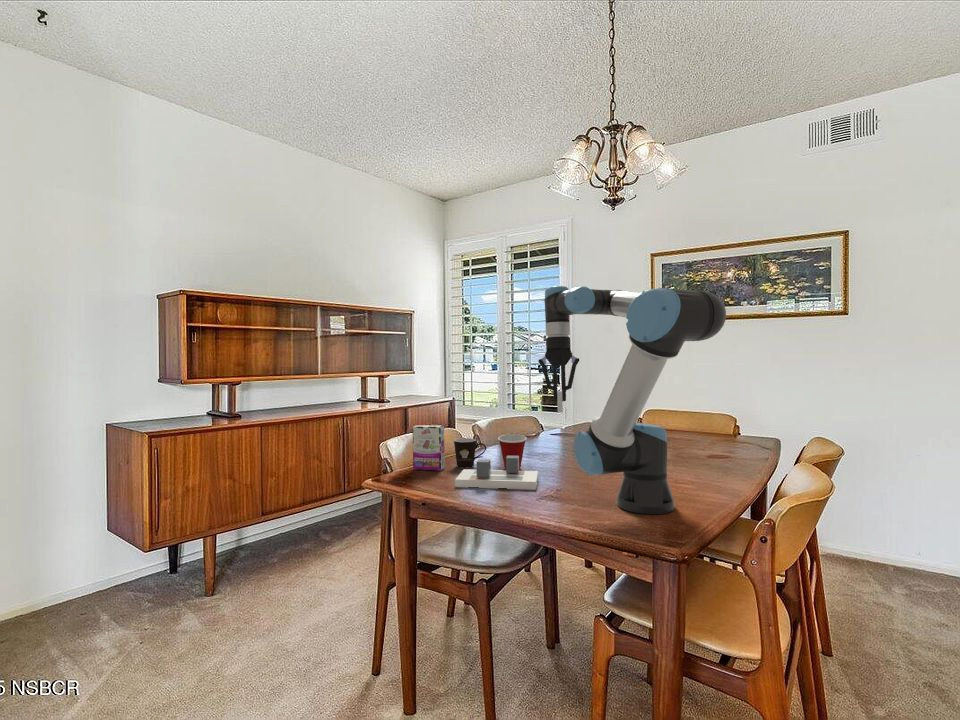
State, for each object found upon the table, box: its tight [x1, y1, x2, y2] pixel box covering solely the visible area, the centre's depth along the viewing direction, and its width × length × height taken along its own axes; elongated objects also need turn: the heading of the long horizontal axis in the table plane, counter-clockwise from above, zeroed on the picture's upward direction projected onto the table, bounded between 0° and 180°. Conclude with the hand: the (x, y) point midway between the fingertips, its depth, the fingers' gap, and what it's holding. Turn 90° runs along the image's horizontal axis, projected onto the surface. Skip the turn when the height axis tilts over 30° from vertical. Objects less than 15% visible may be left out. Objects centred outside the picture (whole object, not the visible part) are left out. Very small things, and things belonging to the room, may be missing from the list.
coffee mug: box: [453, 437, 487, 468], centre depth 190 cm, size 12×9×10 cm
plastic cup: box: [497, 434, 528, 470], centre depth 185 cm, size 11×11×12 cm
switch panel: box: [454, 468, 539, 491], centre depth 166 cm, size 14×26×3 cm, turn 81°
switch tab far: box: [505, 456, 520, 473], centre depth 168 cm, size 4×4×5 cm
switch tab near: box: [476, 458, 492, 478], centre depth 163 cm, size 4×4×5 cm
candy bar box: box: [411, 424, 446, 472], centre depth 186 cm, size 11×5×16 cm, turn 76°
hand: (560, 412), depth 155 cm, fingers closed
